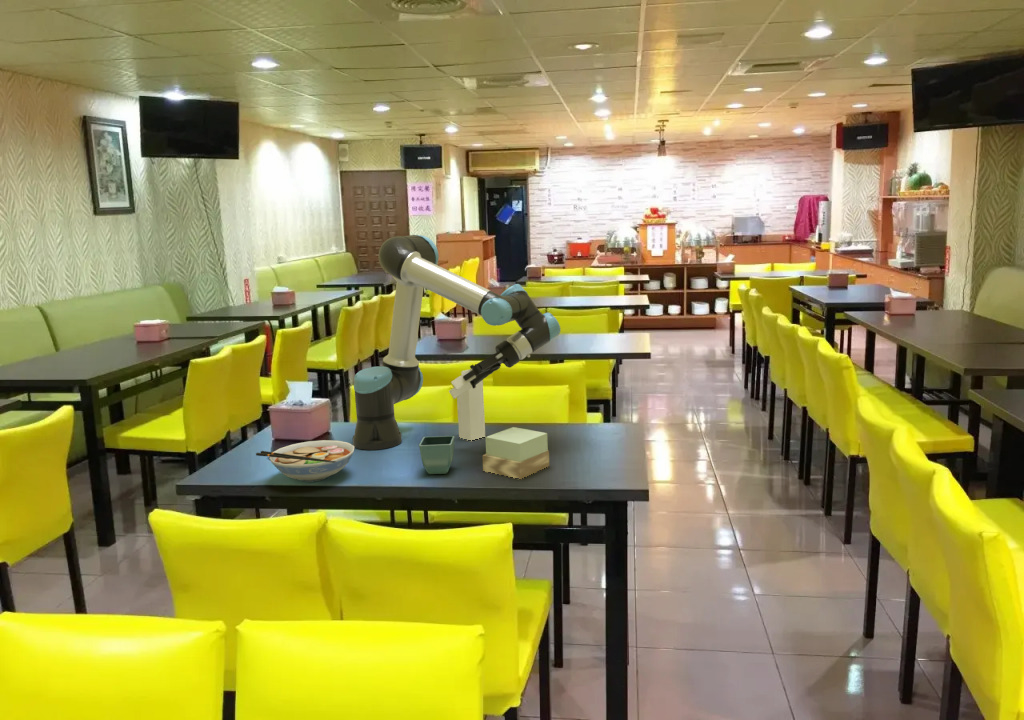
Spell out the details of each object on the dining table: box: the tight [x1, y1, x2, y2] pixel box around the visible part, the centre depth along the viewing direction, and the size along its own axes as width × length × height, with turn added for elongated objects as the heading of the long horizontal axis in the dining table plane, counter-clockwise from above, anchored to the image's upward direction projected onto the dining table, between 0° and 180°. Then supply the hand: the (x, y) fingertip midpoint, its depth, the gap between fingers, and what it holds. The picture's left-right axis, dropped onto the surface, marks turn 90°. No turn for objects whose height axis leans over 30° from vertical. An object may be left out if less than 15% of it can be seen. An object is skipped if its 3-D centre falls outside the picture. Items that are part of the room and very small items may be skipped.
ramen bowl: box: [255, 439, 355, 483], centre depth 213 cm, size 25×23×8 cm
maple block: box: [482, 449, 550, 480], centre depth 213 cm, size 13×13×5 cm
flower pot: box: [418, 435, 455, 475], centre depth 213 cm, size 9×9×9 cm
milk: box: [456, 368, 486, 442], centre depth 244 cm, size 6×6×22 cm
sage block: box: [484, 426, 549, 462], centre depth 213 cm, size 12×12×5 cm
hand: (452, 390), depth 221 cm, fingers open, 13 cm apart
